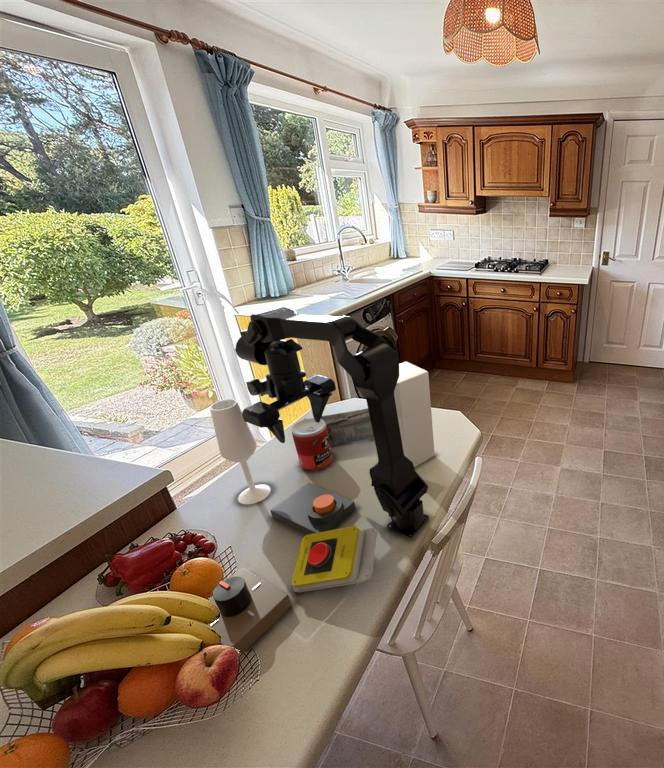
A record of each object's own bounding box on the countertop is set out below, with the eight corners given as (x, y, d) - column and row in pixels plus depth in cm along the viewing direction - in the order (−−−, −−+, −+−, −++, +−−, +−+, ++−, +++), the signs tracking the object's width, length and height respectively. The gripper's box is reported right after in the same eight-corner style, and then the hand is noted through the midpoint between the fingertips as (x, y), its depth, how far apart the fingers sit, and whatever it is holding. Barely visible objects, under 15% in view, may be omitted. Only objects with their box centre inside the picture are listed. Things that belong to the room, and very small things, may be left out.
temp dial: (257, 598, 68) (250, 581, 66) (231, 621, 64) (223, 604, 62) (240, 587, 69) (233, 571, 67) (214, 609, 66) (205, 592, 64)
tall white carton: (387, 457, 107) (375, 371, 96) (414, 442, 113) (406, 360, 102) (408, 471, 102) (397, 383, 91) (435, 455, 108) (428, 371, 97)
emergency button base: (357, 509, 90) (354, 496, 88) (320, 542, 82) (317, 527, 80) (310, 489, 95) (307, 476, 94) (272, 517, 87) (267, 503, 86)
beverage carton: (321, 433, 116) (317, 413, 113) (390, 421, 122) (388, 402, 119) (320, 448, 109) (316, 428, 106) (393, 435, 116) (391, 416, 113)
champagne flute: (261, 504, 91) (230, 413, 80) (231, 504, 90) (195, 412, 80) (276, 484, 97) (249, 396, 86) (248, 484, 96) (217, 396, 85)
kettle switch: (339, 504, 87) (337, 497, 86) (324, 516, 83) (322, 510, 83) (325, 498, 88) (324, 491, 87) (310, 510, 85) (308, 503, 84)
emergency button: (292, 533, 75) (366, 519, 73) (306, 541, 78) (378, 528, 76) (276, 587, 69) (357, 574, 67) (293, 593, 72) (370, 580, 70)
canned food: (322, 473, 101) (313, 437, 96) (293, 468, 102) (283, 432, 97) (339, 455, 107) (332, 420, 102) (312, 450, 109) (304, 416, 104)
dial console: (292, 605, 70) (287, 593, 68) (235, 661, 62) (229, 648, 60) (246, 578, 74) (241, 566, 73) (187, 626, 66) (181, 614, 65)
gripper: (296, 347, 94) (309, 404, 101) (214, 378, 79) (236, 443, 86) (331, 356, 90) (342, 415, 97) (251, 391, 75) (272, 458, 82)
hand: (300, 431), depth 91 cm, fingers open, 9 cm apart
